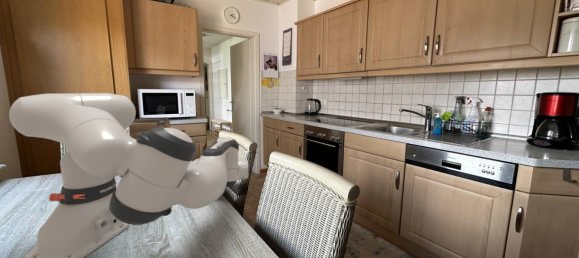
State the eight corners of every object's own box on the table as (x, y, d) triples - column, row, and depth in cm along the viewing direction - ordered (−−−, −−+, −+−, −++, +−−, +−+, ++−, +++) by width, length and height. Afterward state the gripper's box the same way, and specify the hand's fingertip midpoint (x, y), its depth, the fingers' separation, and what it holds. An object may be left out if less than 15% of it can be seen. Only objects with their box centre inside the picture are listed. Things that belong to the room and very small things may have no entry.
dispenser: (162, 182, 108) (157, 119, 103) (134, 183, 107) (128, 120, 103) (173, 174, 119) (169, 117, 114) (148, 174, 118) (142, 117, 114)
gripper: (202, 186, 92) (164, 186, 92) (216, 169, 113) (185, 169, 112) (201, 170, 91) (163, 170, 91) (216, 155, 112) (185, 155, 111)
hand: (176, 169), depth 102 cm, fingers closed on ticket, 4 cm apart
